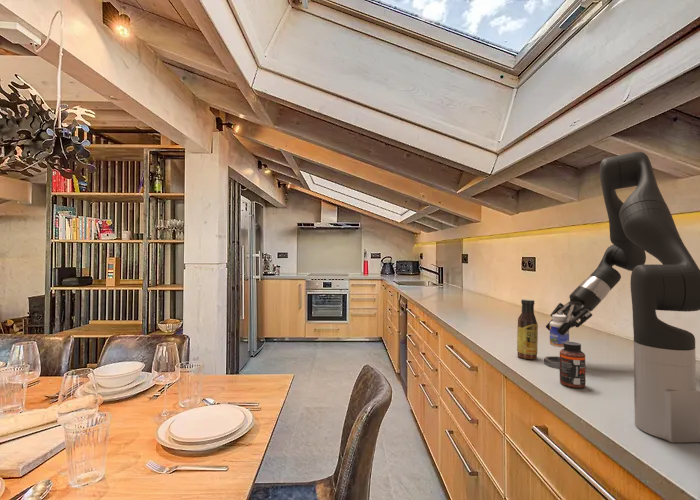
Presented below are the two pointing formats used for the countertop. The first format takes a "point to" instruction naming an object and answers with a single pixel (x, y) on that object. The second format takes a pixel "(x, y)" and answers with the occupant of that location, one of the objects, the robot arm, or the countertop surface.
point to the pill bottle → (555, 337)
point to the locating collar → (552, 361)
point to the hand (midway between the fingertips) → (553, 331)
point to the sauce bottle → (527, 331)
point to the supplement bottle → (572, 365)
